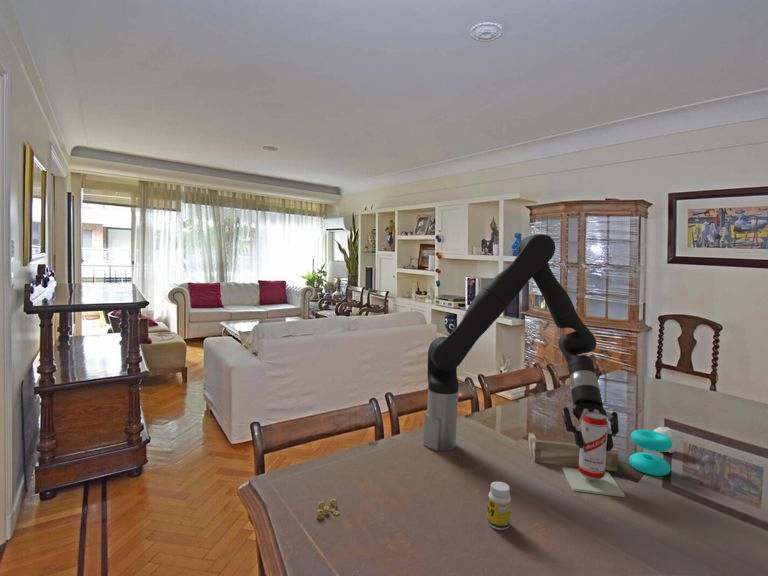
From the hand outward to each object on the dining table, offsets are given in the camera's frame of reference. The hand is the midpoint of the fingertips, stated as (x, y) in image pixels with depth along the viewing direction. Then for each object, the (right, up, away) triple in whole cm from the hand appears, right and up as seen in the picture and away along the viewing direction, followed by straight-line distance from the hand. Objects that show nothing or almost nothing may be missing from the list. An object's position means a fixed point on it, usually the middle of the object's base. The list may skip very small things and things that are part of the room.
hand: (595, 448), depth 111 cm
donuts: (+21, -10, +11) cm, 26 cm away
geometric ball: (+33, -10, +24) cm, 42 cm away
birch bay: (+1, -9, +17) cm, 19 cm away
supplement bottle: (-30, -10, -18) cm, 36 cm away
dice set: (-67, -9, -16) cm, 70 cm away
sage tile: (0, -10, +2) cm, 10 cm away
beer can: (0, -8, +2) cm, 8 cm away
